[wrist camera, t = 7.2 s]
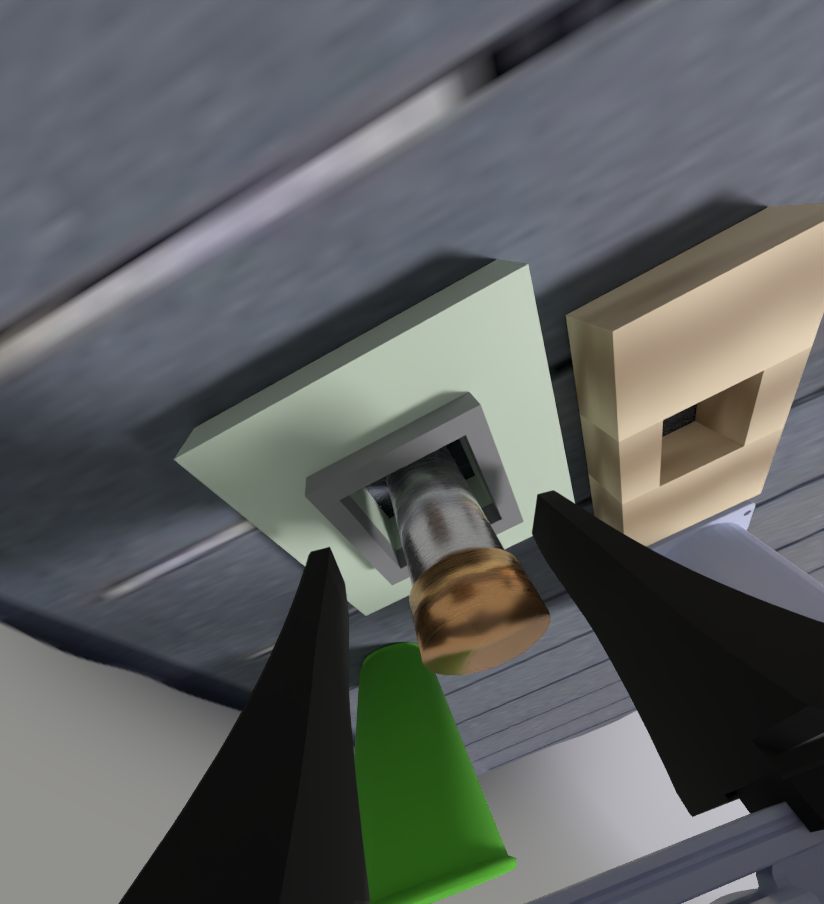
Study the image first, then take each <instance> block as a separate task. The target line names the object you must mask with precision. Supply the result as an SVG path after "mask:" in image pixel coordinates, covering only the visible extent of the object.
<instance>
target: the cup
mask: <svg viewBox="0 0 824 904" xmlns="http://www.w3.org/2000/svg"><path fill="white" fill-rule="evenodd" d="M354 761H355V771H356V782H357V791H358V801H359V810H360V819H361V828H362V837H363V845H364V853H365V862H366V870H367V878H368V886H369V894H370V903H369V904H430V903H433V902H435V901H438V900H441V899H443V898H446V897H448V896H451V895H453V894H456V893H459V892H461V891H463V890H466V889H468V888H471V887H474V886H476V885H479V884H481V883H483V882H486V881H488V880H491V879H493V878H495V877H497V876H500V875H502V874H505V873H507V872H509V871H511V870H513V869H515V868H516V858H514V857H511V856H508V854H507V852H506V849H505V847H504V844H503V842H502V839H501V837H500V834H499V832H498V829H497V827H496V824H495V822H494V819H493V816H492V814H491V811H490V809H489V807H488V804H487V801H486V799H485V797H484V794H483V791H482V789H481V786H480V784H479V781H478V779H477V776H476V774H475V771H474V769H473V766H472V764H471V761H470V759H469V756H468V754H467V751H466V749H465V746H464V744H463V741H462V739H461V736H460V734H459V731H458V729H457V726H456V724H455V721H454V719H453V716H452V714H451V711H450V709H449V706H448V704H447V701H446V699H445V696H444V694H443V691H442V689H441V686H440V684H439V681H438V679H437V676H436V674H435V673H434V672H432V671H430V670H428V669H427V668H426V667H425V666H424V664H423V662H422V657H421V653H420V649H419V645H418V644H414V643H398V644H393V645H389V646H385V647H383V648H380V649H378V650H376V651H374V652H373V653H371V654H370V655H369V656H367V658H366V659H365V660H364V661H363V664H362V668H361V670H360V675H359V691H358V707H357V723H356V740H355V756H354Z"/></svg>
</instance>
